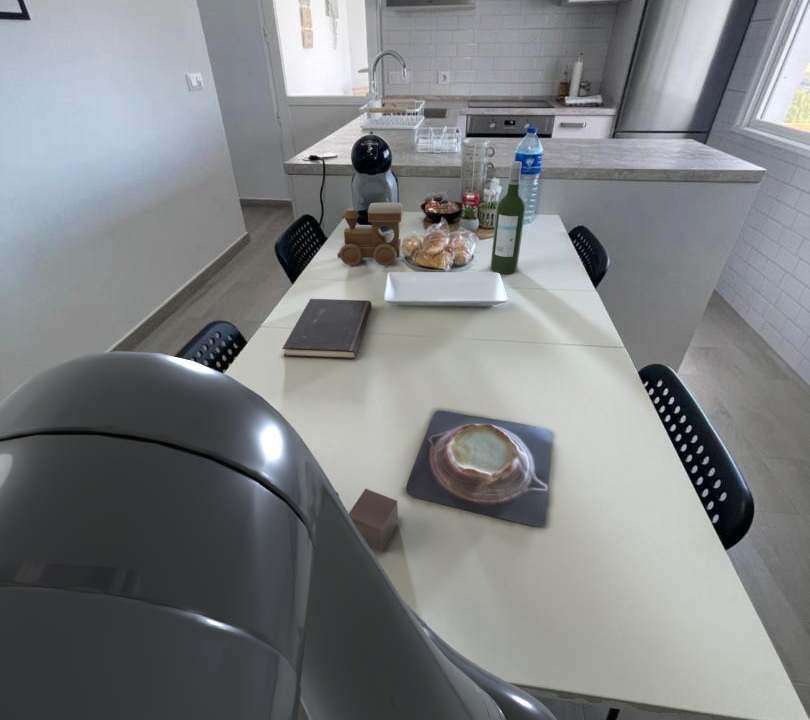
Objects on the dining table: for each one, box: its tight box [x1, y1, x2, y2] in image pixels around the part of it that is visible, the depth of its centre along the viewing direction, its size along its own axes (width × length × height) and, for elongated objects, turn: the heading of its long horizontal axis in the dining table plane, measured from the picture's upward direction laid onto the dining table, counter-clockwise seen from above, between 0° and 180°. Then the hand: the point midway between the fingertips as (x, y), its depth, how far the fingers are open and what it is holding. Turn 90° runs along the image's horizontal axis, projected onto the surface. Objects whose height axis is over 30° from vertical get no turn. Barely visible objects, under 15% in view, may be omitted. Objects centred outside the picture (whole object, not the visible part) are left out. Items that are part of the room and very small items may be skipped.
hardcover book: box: [282, 298, 373, 360], centre depth 106 cm, size 16×23×2 cm
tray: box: [383, 271, 509, 307], centre depth 119 cm, size 17×31×4 cm, turn 88°
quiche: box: [405, 409, 553, 528], centre depth 72 cm, size 21×20×4 cm
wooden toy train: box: [337, 201, 404, 267], centre depth 136 cm, size 20×11×17 cm, turn 88°
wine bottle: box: [490, 160, 527, 275], centre depth 126 cm, size 8×8×30 cm
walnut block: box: [348, 488, 399, 553], centre depth 61 cm, size 5×5×5 cm
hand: (245, 486), depth 49 cm, fingers closed
